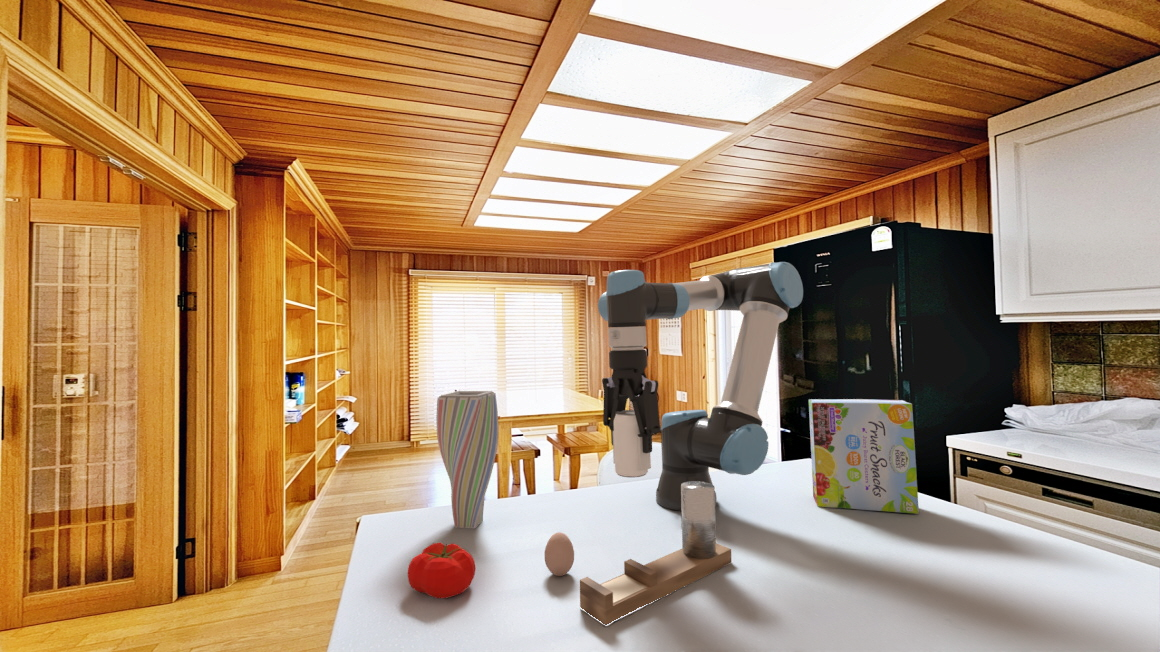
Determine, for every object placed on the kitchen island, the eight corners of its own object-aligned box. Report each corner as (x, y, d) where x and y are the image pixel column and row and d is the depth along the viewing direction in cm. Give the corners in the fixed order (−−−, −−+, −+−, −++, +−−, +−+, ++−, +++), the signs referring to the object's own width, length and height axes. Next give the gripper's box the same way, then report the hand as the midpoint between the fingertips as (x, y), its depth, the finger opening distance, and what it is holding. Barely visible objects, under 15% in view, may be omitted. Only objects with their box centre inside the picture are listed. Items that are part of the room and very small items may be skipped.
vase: (506, 514, 115) (504, 389, 116) (485, 537, 102) (484, 396, 103) (454, 511, 118) (452, 389, 119) (427, 533, 104) (426, 396, 105)
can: (647, 478, 90) (644, 415, 91) (613, 477, 92) (611, 415, 92) (649, 468, 97) (647, 409, 97) (617, 468, 98) (615, 409, 98)
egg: (576, 580, 83) (575, 537, 83) (546, 583, 82) (545, 540, 82) (572, 566, 88) (571, 526, 88) (543, 569, 87) (542, 528, 87)
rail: (580, 609, 74) (579, 579, 74) (704, 551, 93) (704, 528, 93) (605, 627, 69) (605, 595, 69) (731, 562, 88) (730, 538, 89)
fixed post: (675, 551, 88) (674, 485, 88) (696, 542, 92) (694, 479, 92) (702, 562, 83) (700, 493, 84) (723, 552, 87) (721, 486, 87)
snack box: (908, 503, 118) (904, 399, 118) (920, 516, 109) (916, 403, 110) (811, 496, 125) (807, 397, 125) (815, 507, 116) (812, 401, 117)
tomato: (442, 612, 74) (442, 569, 74) (397, 593, 80) (397, 554, 80) (486, 584, 82) (486, 546, 82) (442, 569, 88) (442, 533, 88)
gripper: (582, 349, 100) (586, 460, 99) (650, 349, 85) (654, 480, 84) (609, 348, 104) (613, 453, 104) (677, 348, 89) (682, 471, 89)
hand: (631, 465), depth 94 cm, fingers closed on can, 6 cm apart
